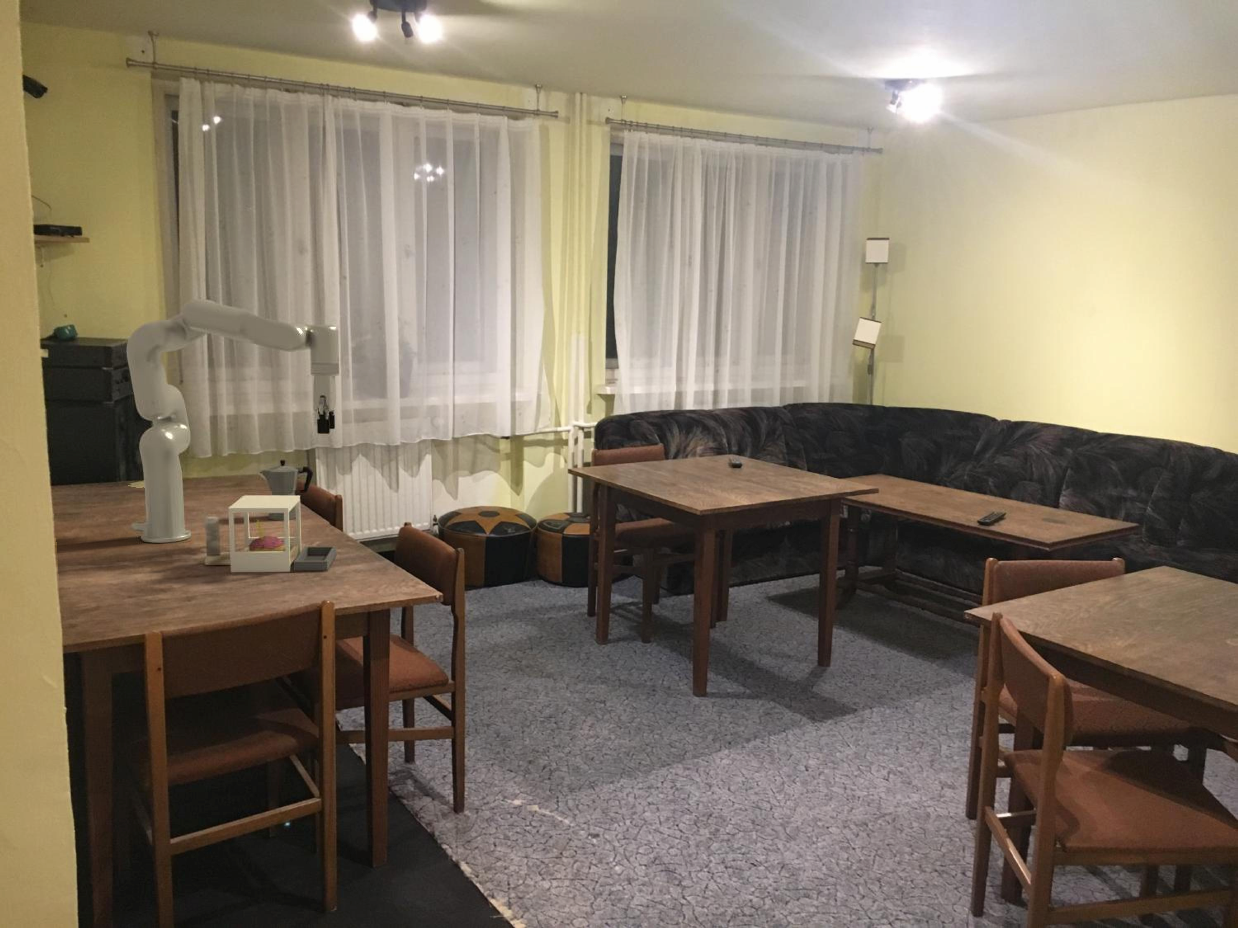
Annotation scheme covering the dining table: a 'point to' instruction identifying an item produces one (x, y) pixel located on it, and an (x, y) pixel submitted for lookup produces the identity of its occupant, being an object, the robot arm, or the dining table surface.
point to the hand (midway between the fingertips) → (326, 431)
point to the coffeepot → (286, 484)
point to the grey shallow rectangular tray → (315, 558)
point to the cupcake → (266, 543)
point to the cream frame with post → (214, 545)
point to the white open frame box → (259, 560)
